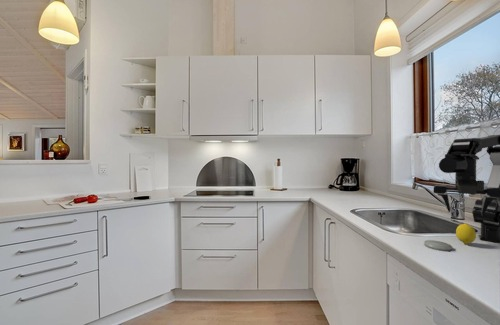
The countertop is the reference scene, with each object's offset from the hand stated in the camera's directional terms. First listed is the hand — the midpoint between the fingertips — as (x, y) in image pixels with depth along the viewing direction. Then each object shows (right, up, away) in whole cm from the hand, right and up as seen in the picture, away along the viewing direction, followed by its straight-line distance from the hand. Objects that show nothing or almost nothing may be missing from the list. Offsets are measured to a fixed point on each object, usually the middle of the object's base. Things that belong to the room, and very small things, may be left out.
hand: (465, 213), depth 88 cm
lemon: (0, -12, +1) cm, 12 cm away
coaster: (-12, -12, -2) cm, 17 cm away
